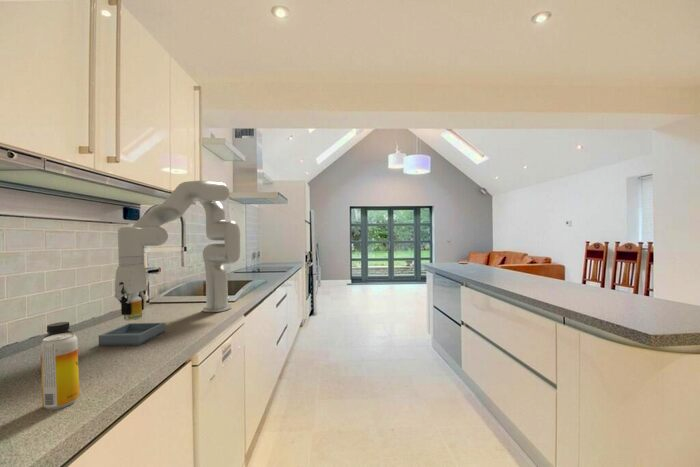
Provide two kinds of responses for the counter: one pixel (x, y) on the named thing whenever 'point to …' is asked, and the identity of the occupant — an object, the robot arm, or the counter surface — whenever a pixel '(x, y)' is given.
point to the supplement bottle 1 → (57, 329)
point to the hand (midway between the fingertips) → (132, 311)
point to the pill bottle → (59, 370)
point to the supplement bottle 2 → (135, 307)
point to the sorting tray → (131, 334)
